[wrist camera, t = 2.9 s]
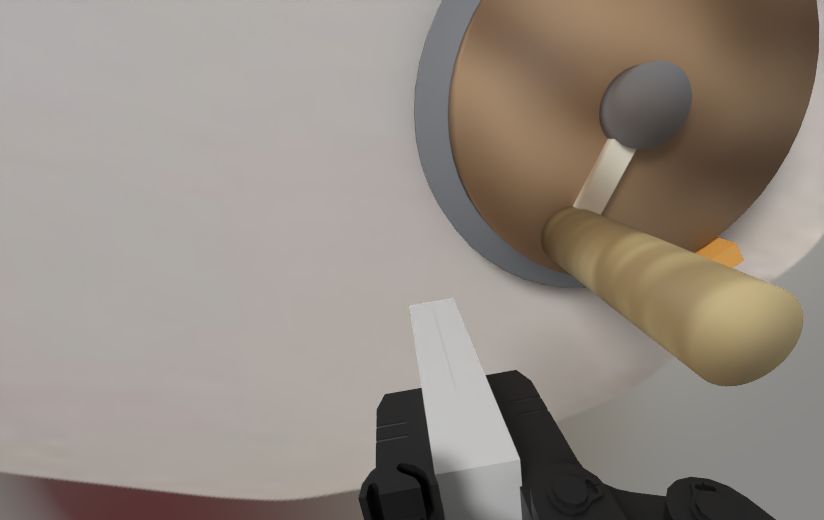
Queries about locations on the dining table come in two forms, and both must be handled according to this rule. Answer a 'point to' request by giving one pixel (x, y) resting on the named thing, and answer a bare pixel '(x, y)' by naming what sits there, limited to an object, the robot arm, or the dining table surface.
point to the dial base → (441, 167)
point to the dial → (639, 154)
